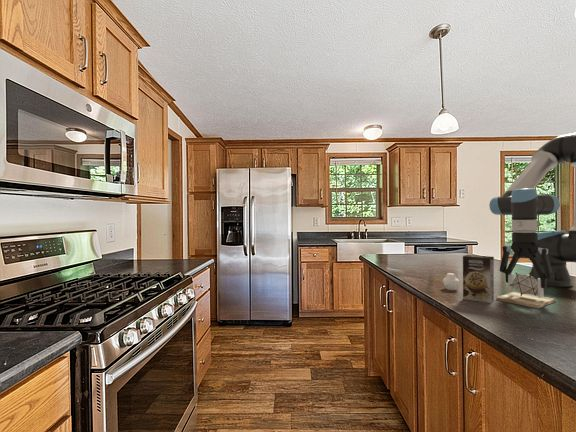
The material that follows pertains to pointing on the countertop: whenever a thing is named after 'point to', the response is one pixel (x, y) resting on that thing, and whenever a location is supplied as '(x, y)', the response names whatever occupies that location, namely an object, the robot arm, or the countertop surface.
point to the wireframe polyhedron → (525, 283)
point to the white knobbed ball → (451, 281)
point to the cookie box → (478, 278)
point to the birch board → (526, 299)
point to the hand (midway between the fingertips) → (525, 294)
